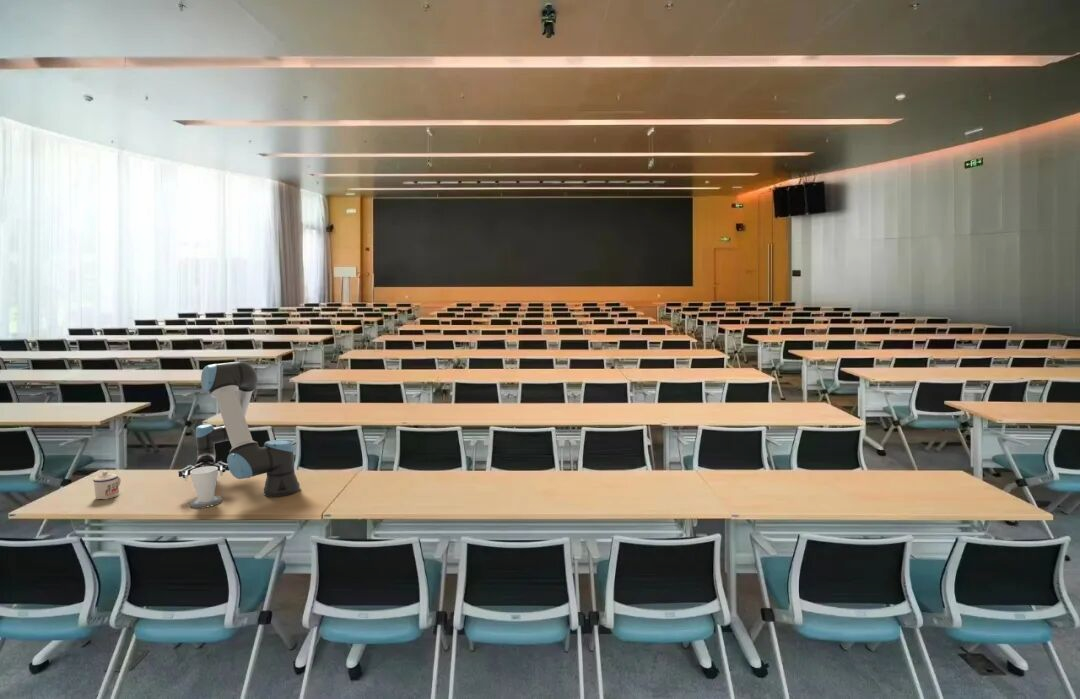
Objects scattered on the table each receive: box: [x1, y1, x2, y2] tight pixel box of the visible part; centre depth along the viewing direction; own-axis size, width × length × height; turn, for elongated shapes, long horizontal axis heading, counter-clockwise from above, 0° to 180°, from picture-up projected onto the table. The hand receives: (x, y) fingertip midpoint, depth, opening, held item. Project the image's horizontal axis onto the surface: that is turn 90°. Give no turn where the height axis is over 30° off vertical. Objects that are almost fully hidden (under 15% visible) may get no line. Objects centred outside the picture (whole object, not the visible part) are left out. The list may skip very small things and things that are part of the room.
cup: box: [190, 466, 219, 503], centre depth 267 cm, size 10×10×14 cm
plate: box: [189, 495, 223, 509], centre depth 268 cm, size 12×12×1 cm
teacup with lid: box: [92, 470, 122, 500], centre depth 280 cm, size 12×9×12 cm
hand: (203, 475), depth 271 cm, fingers open, 13 cm apart
